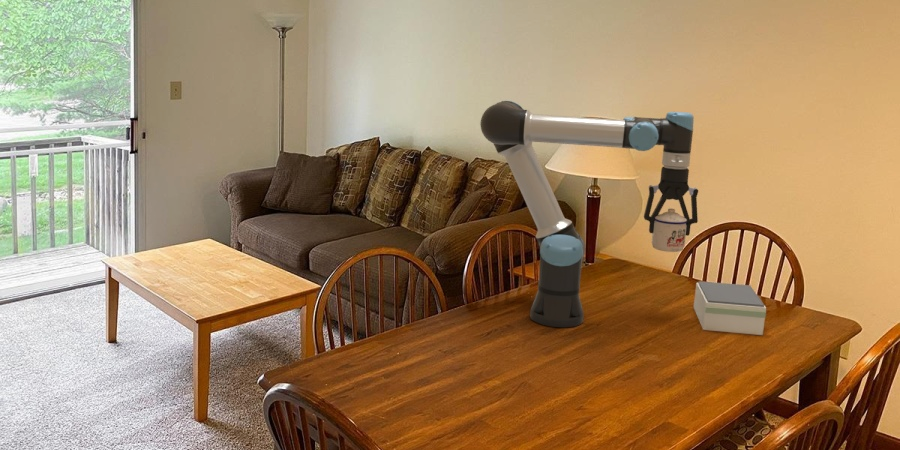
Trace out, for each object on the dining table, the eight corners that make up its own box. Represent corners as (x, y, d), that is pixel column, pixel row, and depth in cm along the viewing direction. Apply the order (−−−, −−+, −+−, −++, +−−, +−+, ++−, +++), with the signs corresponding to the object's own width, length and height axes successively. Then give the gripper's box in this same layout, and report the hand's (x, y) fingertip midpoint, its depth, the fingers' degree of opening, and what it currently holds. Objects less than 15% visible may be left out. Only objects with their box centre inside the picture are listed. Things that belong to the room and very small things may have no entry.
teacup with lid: (669, 254, 222) (673, 213, 219) (644, 246, 229) (648, 207, 226) (697, 249, 228) (701, 209, 226) (672, 242, 235) (676, 204, 233)
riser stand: (703, 330, 222) (706, 301, 220) (693, 307, 241) (696, 280, 239) (762, 335, 219) (766, 306, 217) (748, 312, 239) (751, 285, 237)
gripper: (639, 166, 221) (632, 245, 226) (714, 170, 218) (706, 250, 223) (637, 163, 229) (631, 239, 234) (710, 167, 226) (702, 244, 231)
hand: (667, 245), depth 229 cm, fingers closed on teacup with lid, 7 cm apart
